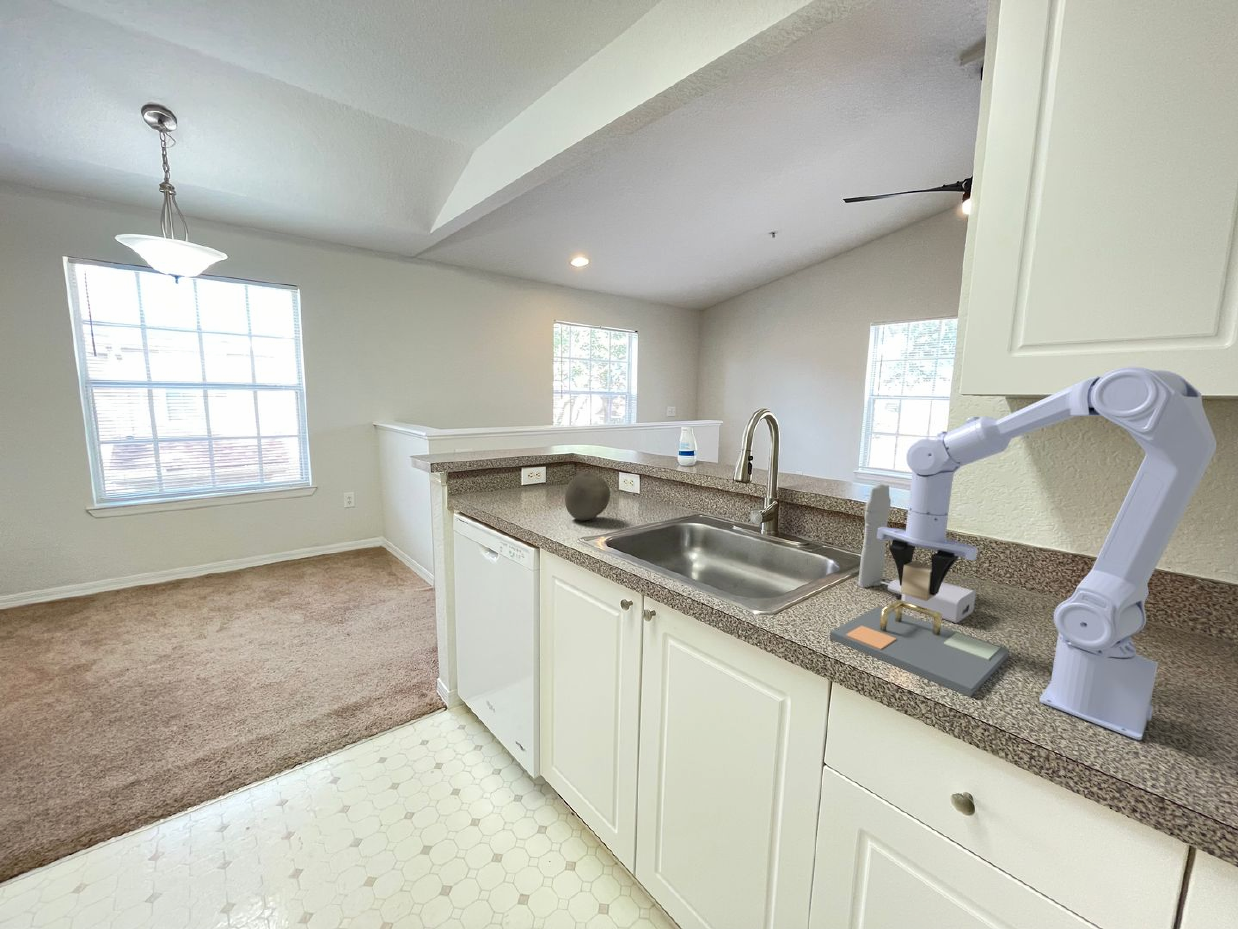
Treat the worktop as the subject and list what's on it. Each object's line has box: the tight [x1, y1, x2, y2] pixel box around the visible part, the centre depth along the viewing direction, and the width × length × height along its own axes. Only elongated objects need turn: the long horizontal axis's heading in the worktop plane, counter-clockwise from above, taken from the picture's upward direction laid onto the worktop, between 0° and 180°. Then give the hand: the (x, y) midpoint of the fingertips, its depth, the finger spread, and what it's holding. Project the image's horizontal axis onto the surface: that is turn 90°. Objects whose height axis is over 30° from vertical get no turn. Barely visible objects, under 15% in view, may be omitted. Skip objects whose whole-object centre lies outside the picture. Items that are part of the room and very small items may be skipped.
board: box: [829, 605, 1010, 698], centre depth 80 cm, size 20×18×1 cm
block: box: [901, 560, 936, 601], centre depth 83 cm, size 4×4×5 cm
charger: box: [881, 578, 977, 624], centre depth 97 cm, size 5×9×15 cm
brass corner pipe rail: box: [880, 599, 943, 636], centre depth 82 cm, size 7×7×4 cm
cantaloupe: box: [564, 472, 611, 522], centre depth 155 cm, size 14×14×15 cm
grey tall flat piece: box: [857, 483, 892, 589], centre depth 107 cm, size 11×4×22 cm, turn 130°
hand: (918, 589), depth 84 cm, fingers closed on block, 4 cm apart
